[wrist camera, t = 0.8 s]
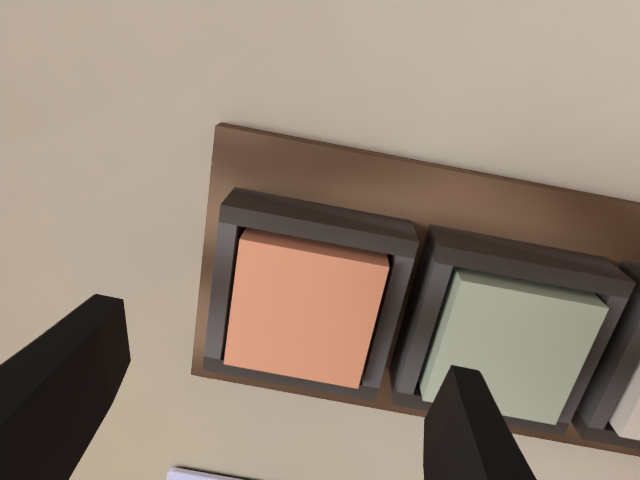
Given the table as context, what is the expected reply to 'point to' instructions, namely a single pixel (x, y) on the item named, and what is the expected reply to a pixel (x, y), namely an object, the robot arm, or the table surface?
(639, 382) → the off-white key
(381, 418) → the table surface
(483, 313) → the sage key
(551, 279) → the key board
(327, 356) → the terracotta key
